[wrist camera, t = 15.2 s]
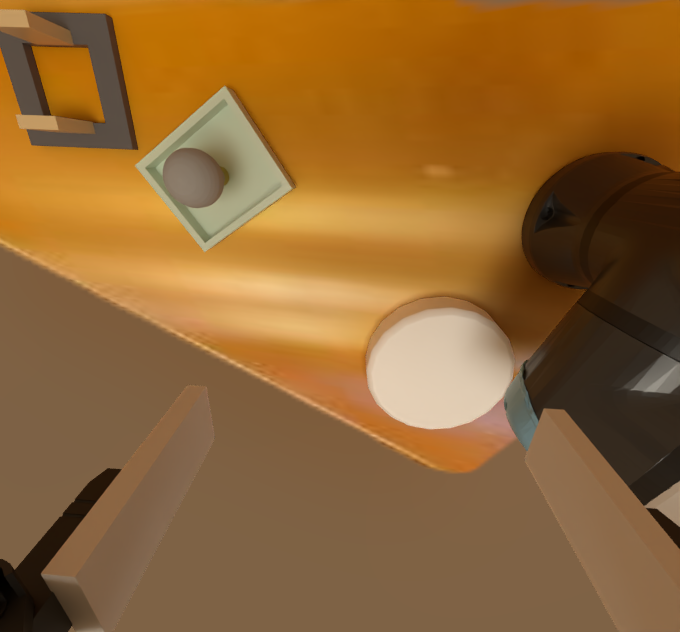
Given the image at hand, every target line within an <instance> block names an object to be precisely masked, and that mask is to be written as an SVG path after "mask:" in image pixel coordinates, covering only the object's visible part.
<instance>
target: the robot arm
mask: <svg viewBox="0 0 680 632" xmlns="http://www.w3.org/2000/svg"><path fill="white" fill-rule="evenodd" d="M522 245H523V250H524V253H525V256H526V258H527V260H528V262H529V263H530V265H531V266H532V267H533V268H534V270H536V271H537V272H538V273H539V274H540V275H542V276H543V277H545V278H547V279H548V280H550V281H552V282H554V283H556V284H558V285H561V286H564V287H568V288H574V289H587V290H586V292H585V293H584V294H583V295H582V297H581V298H580V299H579V300H578V301H577V302H576V303H575V304H574V306H573V307H572V308H571V309H570V311H569V312H568V313H567V314H566V315H565V317H564V318H563V319H562V320H561V321H560V323H559V324H558V325H557V326H556V328H555V329H554V330H553V331H552V332H551V334H550V335H549V336H548V337H547V338H546V340H545V341H544V342H543V343H542V345H541V346H540V347H539V348H538V349H537V351H536V352H535V353H534V354H533V355H532V357H531V358H530V359H529V360H526V361H525V362H524V363H523V364H522V366H521V368H520V372H519V373H518V374H517V376H516V377H515V379H514V380H513V381H512V383H511V384H510V385H509V387H508V388H507V390H506V392H505V396H504V407H505V410H506V416H507V419H508V422H509V424H510V426H511V428H512V430H513V431H514V433H515V435H516V437H517V438H518V440H519V441H520V443H521V444H522V445H523V447H524V448H525V449H526V450H527V454H526V457H525V459H524V461H525V463H526V465H527V466H528V468H529V470H530V471H531V473H532V475H533V477H534V479H535V481H536V483H537V484H538V486H539V488H540V490H541V492H542V494H543V495H544V497H545V499H546V501H547V503H548V505H549V506H550V508H551V510H552V512H553V514H554V515H555V517H556V519H557V521H558V523H559V524H560V526H561V528H562V530H563V532H564V534H565V535H566V537H567V539H568V541H569V543H570V544H571V546H572V548H573V550H574V552H575V553H576V555H577V557H578V559H579V561H580V563H581V564H582V566H583V568H584V570H585V572H586V573H587V575H588V577H589V579H590V581H591V582H592V584H593V586H594V588H595V590H596V592H597V593H598V595H599V597H600V599H601V601H602V602H603V604H604V606H605V608H606V610H607V612H608V613H609V615H610V617H611V619H612V621H613V622H614V624H615V626H616V628H617V629H618V631H619V632H680V172H675V171H673V170H672V169H670V168H668V167H666V166H664V165H661V164H660V163H659V162H657V161H655V160H654V159H652V158H650V157H647V156H645V155H641V154H637V153H631V152H607V153H599V154H594V155H590V156H587V157H584V158H581V159H579V160H577V161H575V162H573V163H571V164H569V165H567V166H566V167H564V168H563V169H561V170H560V171H558V172H557V173H556V174H555V175H553V176H552V177H551V178H550V179H549V180H548V181H547V182H546V183H545V184H544V185H543V187H542V188H541V189H540V190H539V192H538V193H537V194H536V196H535V197H534V199H533V201H532V202H531V204H530V206H529V208H528V211H527V213H526V216H525V219H524V223H523V229H522ZM214 439H215V435H214V429H213V423H212V417H211V411H210V405H209V399H208V393H207V387H206V386H193V385H187V386H186V388H185V389H184V390H183V392H182V393H181V394H180V395H179V397H178V398H177V399H176V401H175V402H174V403H173V405H172V406H171V407H170V408H169V410H168V411H167V412H166V413H165V415H164V416H163V417H162V419H161V420H160V421H159V422H158V424H157V425H156V426H155V428H154V429H153V430H152V432H151V433H150V434H149V435H148V437H147V438H146V439H145V440H144V442H143V443H142V444H141V446H140V447H139V448H138V449H137V451H136V452H135V453H134V455H133V456H132V457H131V458H130V460H129V461H128V462H127V464H126V465H125V466H124V467H123V469H110V468H108V469H106V470H105V471H104V472H102V473H101V474H100V475H98V476H97V477H96V478H94V479H93V480H92V481H90V482H89V483H88V484H87V486H86V487H85V488H84V489H83V490H82V491H81V493H80V494H79V495H78V496H77V497H76V499H75V501H74V502H73V503H71V504H70V506H69V507H68V508H67V509H66V510H65V511H64V513H63V516H62V517H59V519H58V520H57V521H56V522H55V523H54V524H53V526H52V527H51V528H50V529H49V530H48V531H47V533H46V534H45V535H44V536H43V537H42V539H41V540H40V541H39V542H38V543H37V544H36V546H35V547H34V548H33V549H32V550H31V551H30V553H29V554H28V555H27V556H26V557H25V559H24V560H23V561H22V562H21V563H20V564H19V566H18V567H17V568H16V569H15V570H14V569H13V567H12V566H11V564H10V563H8V562H7V561H5V560H3V559H0V632H68V631H69V629H70V628H71V626H72V627H73V628H74V630H75V631H76V632H113V631H114V629H115V627H116V625H117V623H118V621H119V619H120V618H121V616H122V614H123V612H124V610H125V608H126V606H127V604H128V602H129V601H130V599H131V597H132V595H133V593H134V591H135V589H136V587H137V585H138V583H139V582H140V580H141V578H142V576H143V574H144V572H145V570H146V568H147V566H148V565H149V563H150V561H151V559H152V557H153V555H154V553H155V551H156V549H157V547H158V545H159V544H160V542H161V540H162V538H163V536H164V534H165V532H166V530H167V528H168V527H169V525H170V523H171V521H172V519H173V517H174V515H175V513H176V511H177V509H178V508H179V506H180V504H181V502H182V500H183V498H184V496H185V494H186V492H187V490H188V489H189V486H190V485H191V483H192V481H193V479H194V477H195V475H196V474H197V471H198V470H199V468H200V466H201V464H202V462H203V460H204V458H205V456H206V455H207V453H208V450H209V449H210V447H211V445H212V443H213V441H214Z"/></svg>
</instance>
